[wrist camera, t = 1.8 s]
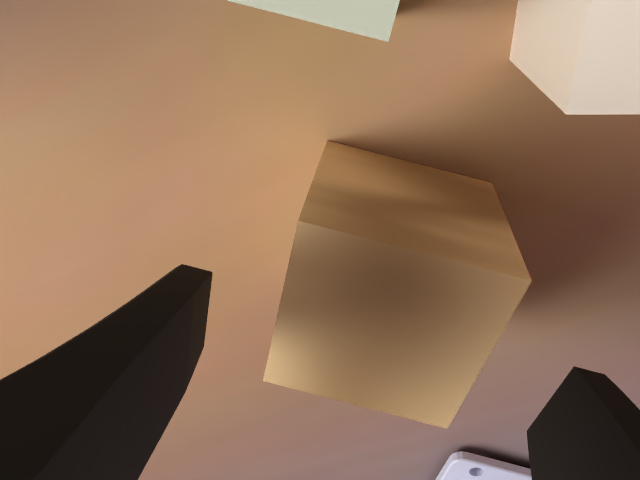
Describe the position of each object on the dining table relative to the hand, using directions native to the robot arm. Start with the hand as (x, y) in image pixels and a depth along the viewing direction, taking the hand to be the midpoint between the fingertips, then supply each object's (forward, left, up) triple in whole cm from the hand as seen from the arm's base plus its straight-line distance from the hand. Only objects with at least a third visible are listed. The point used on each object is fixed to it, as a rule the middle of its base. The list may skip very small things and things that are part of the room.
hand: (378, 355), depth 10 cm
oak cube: (0, 0, -5) cm, 5 cm away
